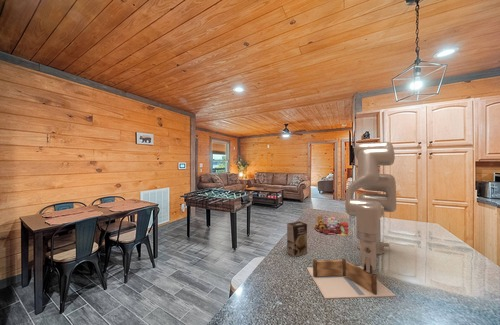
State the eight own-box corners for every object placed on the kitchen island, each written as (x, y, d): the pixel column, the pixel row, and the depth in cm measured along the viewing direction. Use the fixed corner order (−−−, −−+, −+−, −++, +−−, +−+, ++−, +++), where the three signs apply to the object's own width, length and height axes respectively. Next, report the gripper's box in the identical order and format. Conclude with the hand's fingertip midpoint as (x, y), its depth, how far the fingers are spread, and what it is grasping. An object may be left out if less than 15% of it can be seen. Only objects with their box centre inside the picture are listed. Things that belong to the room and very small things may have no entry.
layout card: (361, 266, 88) (361, 265, 88) (395, 296, 68) (395, 295, 68) (306, 268, 87) (306, 267, 87) (325, 299, 67) (324, 297, 67)
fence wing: (345, 277, 79) (345, 261, 80) (347, 276, 80) (347, 260, 80) (375, 295, 69) (375, 276, 69) (377, 293, 69) (377, 275, 69)
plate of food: (314, 234, 130) (314, 221, 130) (313, 224, 153) (313, 212, 153) (355, 238, 123) (355, 224, 123) (347, 226, 146) (347, 214, 146)
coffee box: (294, 257, 97) (294, 226, 98) (286, 252, 103) (286, 223, 103) (307, 253, 102) (307, 223, 102) (299, 249, 107) (299, 220, 108)
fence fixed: (344, 274, 82) (344, 258, 82) (346, 276, 80) (346, 260, 80) (312, 275, 81) (312, 259, 81) (313, 277, 80) (313, 261, 80)
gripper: (380, 244, 67) (381, 296, 67) (377, 230, 80) (377, 274, 80) (355, 240, 71) (356, 289, 71) (356, 227, 84) (357, 269, 84)
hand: (368, 281), depth 75 cm, fingers closed
